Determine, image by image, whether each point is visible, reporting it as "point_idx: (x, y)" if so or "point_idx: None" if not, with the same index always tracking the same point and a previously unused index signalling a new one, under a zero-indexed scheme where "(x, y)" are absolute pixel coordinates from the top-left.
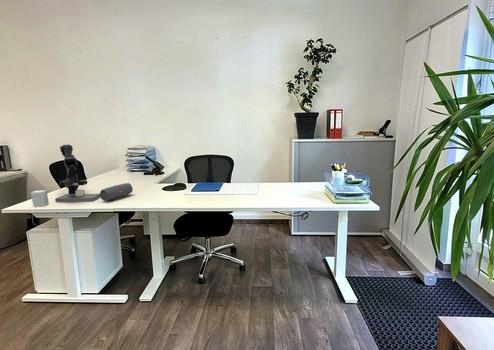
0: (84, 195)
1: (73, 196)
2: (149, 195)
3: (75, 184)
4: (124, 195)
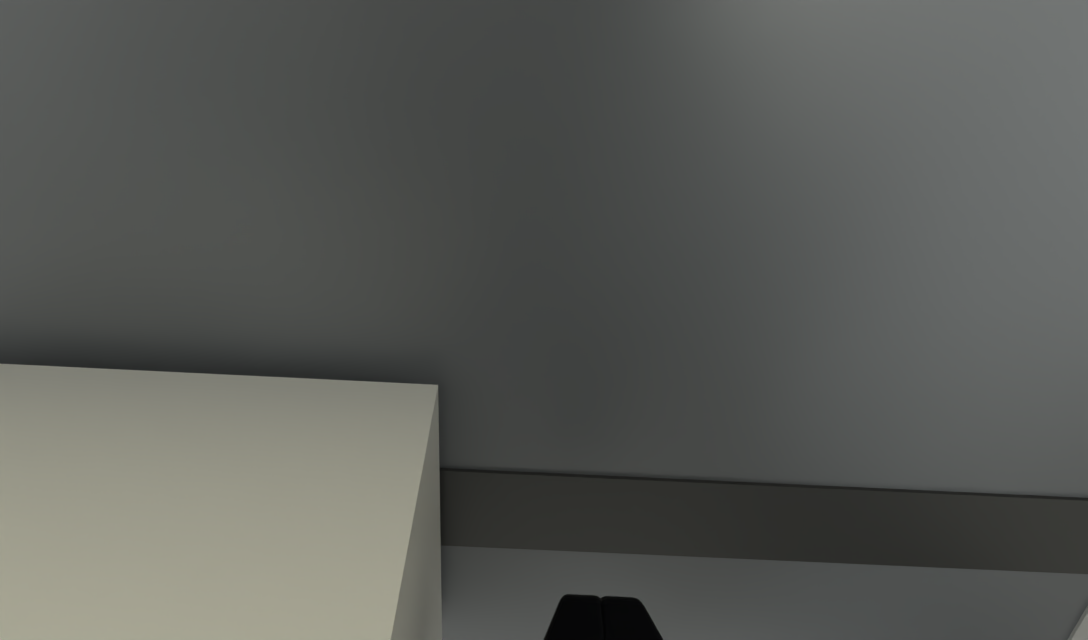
0: None
1: (650, 414)
2: None
3: None
4: None
